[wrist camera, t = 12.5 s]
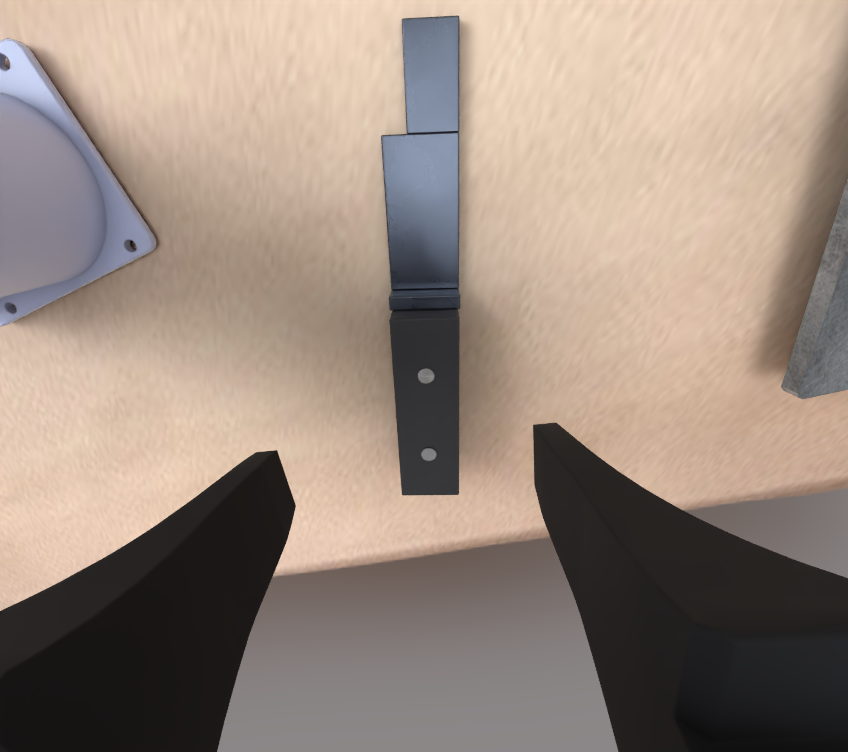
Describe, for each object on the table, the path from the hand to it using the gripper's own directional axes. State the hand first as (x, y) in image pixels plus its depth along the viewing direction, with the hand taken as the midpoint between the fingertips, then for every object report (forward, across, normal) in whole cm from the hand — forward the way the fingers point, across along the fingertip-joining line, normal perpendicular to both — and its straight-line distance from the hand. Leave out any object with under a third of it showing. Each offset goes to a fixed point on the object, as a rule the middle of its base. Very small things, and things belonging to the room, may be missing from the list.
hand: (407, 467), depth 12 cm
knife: (+9, -1, -3) cm, 10 cm away
